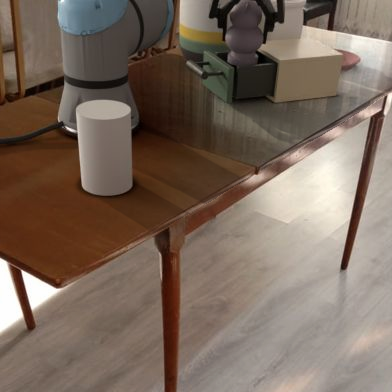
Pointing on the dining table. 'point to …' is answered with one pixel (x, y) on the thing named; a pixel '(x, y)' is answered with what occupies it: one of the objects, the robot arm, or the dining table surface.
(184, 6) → the vase
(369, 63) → the dining table surface
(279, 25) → the jar
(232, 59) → the cat figurine
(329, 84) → the cabinet
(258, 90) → the drawer
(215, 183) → the dining table surface
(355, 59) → the plate
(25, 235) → the dining table surface
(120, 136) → the white cylinder
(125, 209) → the dining table surface
